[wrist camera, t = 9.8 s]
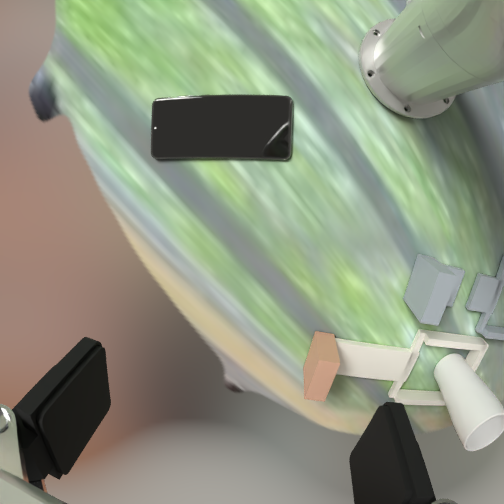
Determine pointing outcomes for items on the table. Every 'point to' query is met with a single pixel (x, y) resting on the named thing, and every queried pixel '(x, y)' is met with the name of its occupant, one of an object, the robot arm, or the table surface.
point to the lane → (380, 363)
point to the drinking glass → (469, 403)
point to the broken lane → (452, 293)
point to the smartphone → (222, 127)
